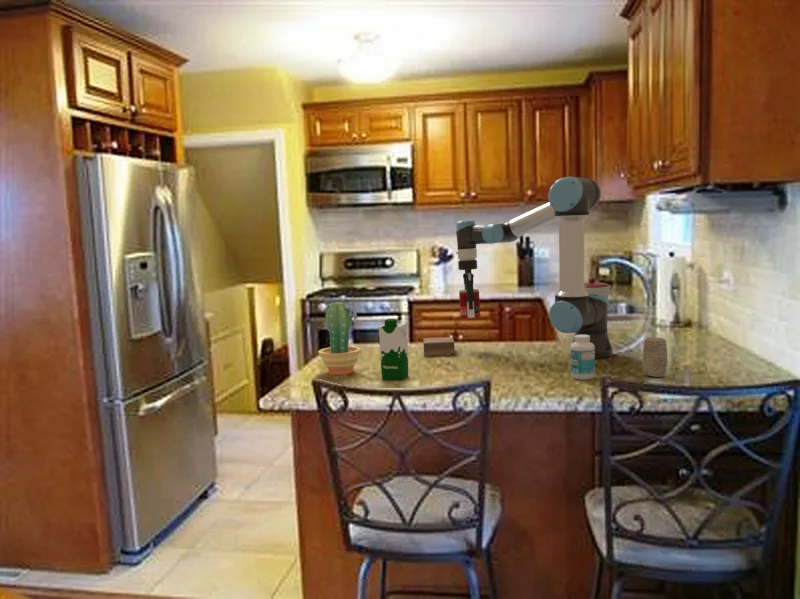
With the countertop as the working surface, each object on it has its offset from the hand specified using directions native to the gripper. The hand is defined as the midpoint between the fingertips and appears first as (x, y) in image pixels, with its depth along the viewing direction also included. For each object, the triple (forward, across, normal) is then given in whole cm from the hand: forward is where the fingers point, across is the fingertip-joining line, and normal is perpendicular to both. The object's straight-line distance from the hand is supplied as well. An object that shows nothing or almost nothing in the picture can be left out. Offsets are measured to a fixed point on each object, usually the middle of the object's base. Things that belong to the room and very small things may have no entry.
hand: (470, 316), depth 267 cm
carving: (+15, +58, +52) cm, 80 cm away
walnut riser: (+13, +4, -14) cm, 19 cm away
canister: (+14, -74, +68) cm, 102 cm away
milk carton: (+14, +46, -30) cm, 56 cm away
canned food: (+1, 0, 0) cm, 1 cm away
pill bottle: (+15, +56, +30) cm, 66 cm away
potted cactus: (+13, +32, -50) cm, 61 cm away
